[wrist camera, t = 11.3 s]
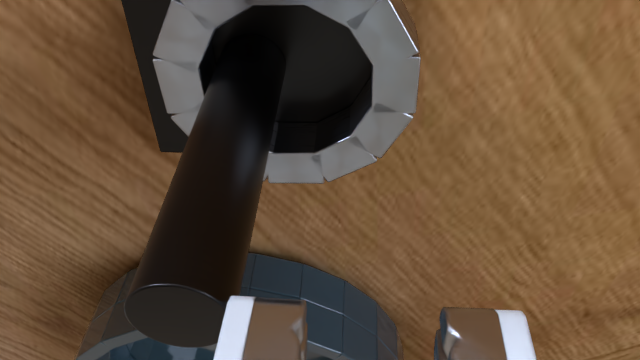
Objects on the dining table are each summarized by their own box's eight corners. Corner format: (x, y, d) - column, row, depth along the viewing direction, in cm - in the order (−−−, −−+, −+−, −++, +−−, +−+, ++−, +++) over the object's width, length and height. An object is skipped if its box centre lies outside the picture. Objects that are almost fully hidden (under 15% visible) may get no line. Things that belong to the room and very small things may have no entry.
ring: (197, 151, 21) (185, 183, 20) (143, -65, 16) (123, -42, 15) (406, 152, 21) (409, 184, 19) (424, -72, 15) (430, -49, 14)
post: (166, 136, 22) (51, 402, 14) (115, -73, 17) (-121, 159, 9) (366, 143, 22) (368, 420, 14) (380, -70, 16) (395, 177, 8)
